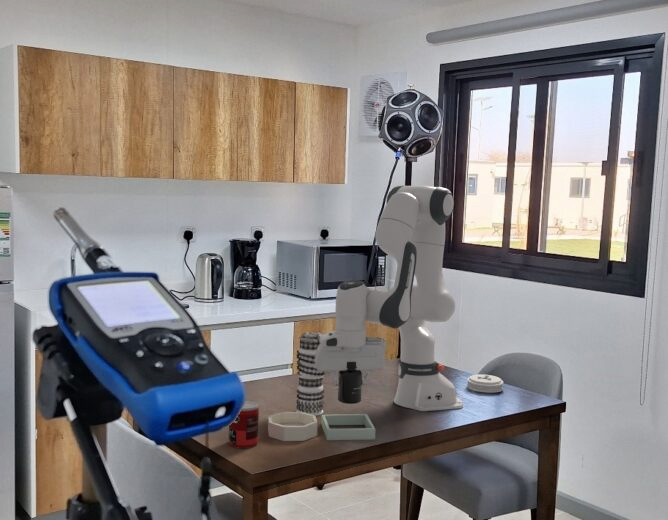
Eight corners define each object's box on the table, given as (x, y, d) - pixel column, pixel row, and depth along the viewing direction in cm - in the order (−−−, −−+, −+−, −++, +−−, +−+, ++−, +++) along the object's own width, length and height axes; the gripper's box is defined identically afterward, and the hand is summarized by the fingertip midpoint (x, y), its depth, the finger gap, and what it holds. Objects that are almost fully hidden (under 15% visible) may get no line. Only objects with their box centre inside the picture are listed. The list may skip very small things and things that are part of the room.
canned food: (229, 438, 204) (230, 400, 203) (258, 438, 204) (259, 400, 203) (227, 448, 196) (228, 408, 195) (257, 448, 197) (258, 408, 196)
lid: (497, 385, 268) (498, 372, 267) (506, 395, 255) (507, 381, 255) (463, 385, 268) (464, 371, 267) (470, 394, 255) (471, 380, 254)
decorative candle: (289, 410, 231) (291, 332, 228) (313, 405, 236) (315, 329, 234) (306, 418, 223) (308, 337, 221) (330, 413, 229) (332, 334, 226)
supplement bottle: (359, 405, 208) (360, 363, 206) (335, 403, 209) (336, 362, 208) (363, 398, 215) (364, 358, 213) (340, 396, 216) (341, 356, 215)
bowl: (313, 424, 218) (313, 411, 217) (318, 440, 204) (319, 426, 204) (267, 425, 216) (267, 412, 216) (269, 441, 202) (269, 427, 202)
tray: (366, 423, 220) (366, 413, 220) (375, 439, 207) (375, 429, 206) (321, 424, 218) (321, 414, 218) (327, 440, 205) (327, 429, 204)
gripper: (384, 334, 214) (383, 380, 216) (314, 336, 211) (314, 382, 213) (388, 339, 208) (387, 386, 210) (316, 341, 205) (316, 389, 207)
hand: (350, 384), depth 211 cm, fingers closed on supplement bottle, 7 cm apart
